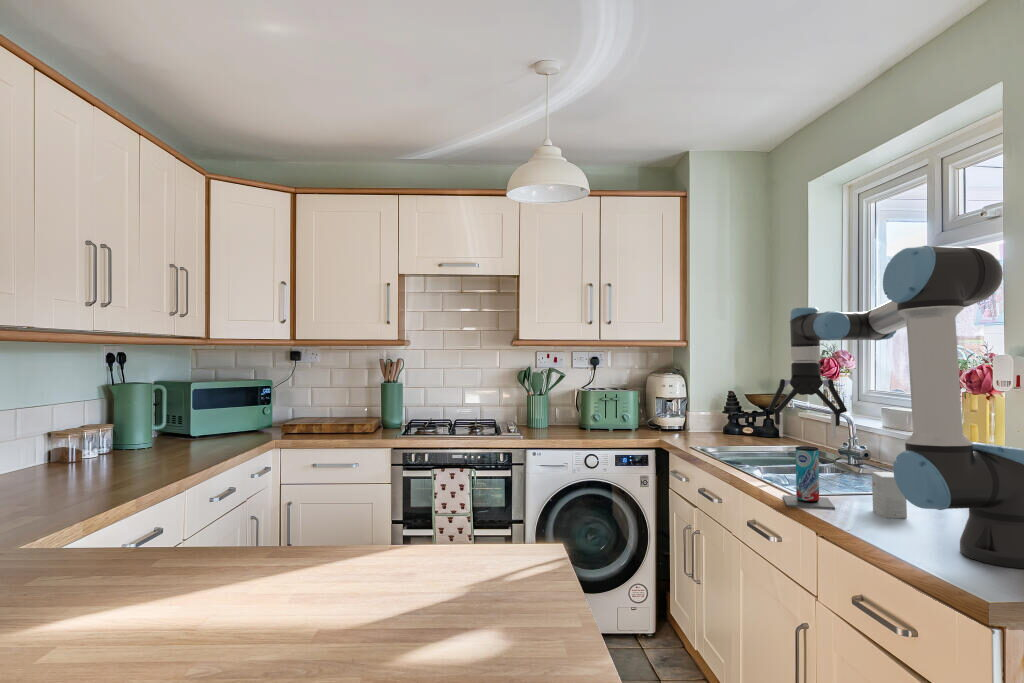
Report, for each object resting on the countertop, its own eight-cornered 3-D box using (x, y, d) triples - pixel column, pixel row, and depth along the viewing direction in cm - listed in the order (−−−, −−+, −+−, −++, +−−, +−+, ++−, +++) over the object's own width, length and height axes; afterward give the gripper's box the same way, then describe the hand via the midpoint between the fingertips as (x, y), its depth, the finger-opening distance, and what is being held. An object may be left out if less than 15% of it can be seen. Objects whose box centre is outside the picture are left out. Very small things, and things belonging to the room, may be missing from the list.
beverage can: (792, 500, 181) (791, 447, 181) (802, 497, 185) (801, 445, 185) (813, 504, 176) (812, 450, 177) (823, 501, 180) (822, 447, 181)
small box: (907, 518, 163) (906, 477, 163) (883, 517, 164) (882, 476, 164) (895, 511, 171) (894, 471, 171) (872, 510, 172) (871, 471, 172)
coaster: (835, 509, 173) (835, 507, 173) (787, 506, 177) (787, 504, 177) (827, 499, 184) (827, 497, 184) (782, 497, 188) (782, 495, 188)
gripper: (851, 361, 181) (853, 436, 181) (757, 362, 189) (759, 434, 188) (857, 361, 174) (859, 439, 174) (759, 362, 182) (760, 437, 181)
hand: (807, 437), depth 181 cm, fingers open, 13 cm apart
